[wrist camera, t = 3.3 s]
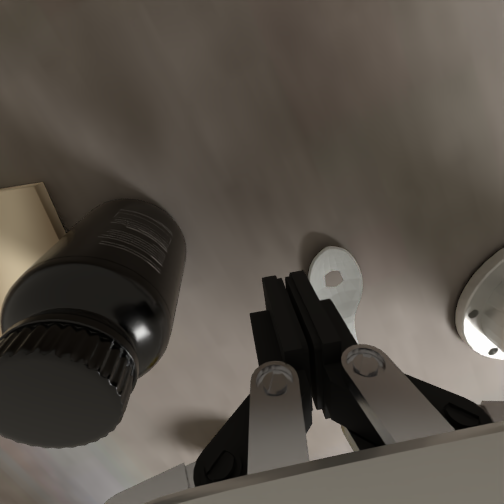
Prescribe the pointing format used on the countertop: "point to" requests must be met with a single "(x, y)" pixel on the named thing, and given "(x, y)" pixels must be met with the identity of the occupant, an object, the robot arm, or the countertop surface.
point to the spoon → (347, 291)
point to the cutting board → (25, 231)
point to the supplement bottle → (88, 324)
